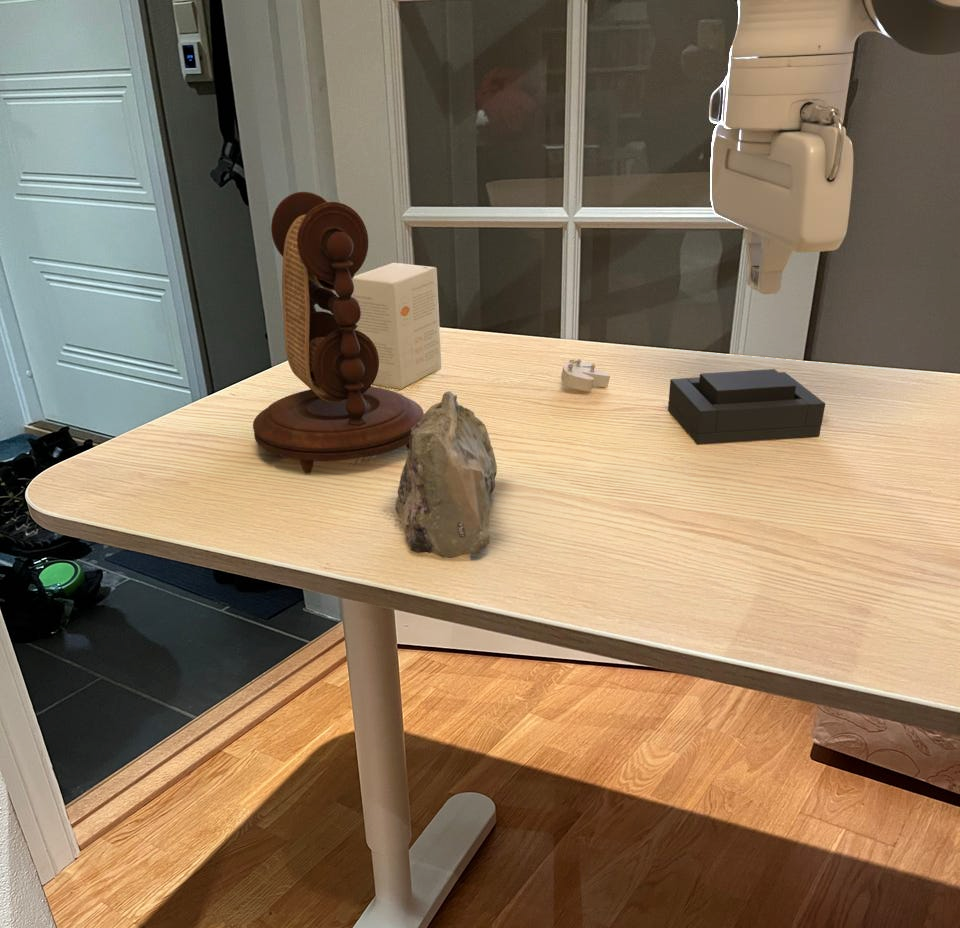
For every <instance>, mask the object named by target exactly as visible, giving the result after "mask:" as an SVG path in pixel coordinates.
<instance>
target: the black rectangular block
mask: <svg viewBox="0 0 960 928" xmlns="http://www.w3.org/2000/svg"><path fill="white" fill-rule="evenodd" d="M699 377H700V378H699V388H698V391H699V392H700V393H701V394H702V395H703V396H704V397H705V398H706V399H707V400H708V401H709V402H710V403H711V404H712V405H715V404H731V403H746V402H762V401H778V400H794V396H795V390H796V386H795V385H794V384H793V383H792V382H790V381H789V380H788V379H786V378H785V377H784V376H783V375H781V374H780V373H779V371H777V370H776V369H775V368H768V369H754V370H753V369H751V370H736V371H720V372H704V373H699Z"/></svg>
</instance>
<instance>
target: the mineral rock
mask: <svg viewBox="0 0 960 928" xmlns="http://www.w3.org/2000/svg"><path fill="white" fill-rule="evenodd" d="M457 399H458V396H457V394H454V393H453V392H452V391H450V390H449V391H445V392H444V393H443V394H442V397H441V401H440V402H437V403H435V404H433V405H430V407H429V408H428V409H427V410H426V411H425V412H424V415H423V417H422V419H421V420H420V421H419V422H418V423H417V424H416V425H415V426H414V427H413V428H412V431H411V433H410V445H409V450H408V451H407V458H406V459H405V462H404V465H403V468H402V472H401V474H400V479H399V483H398V484H399V485H398V489H397V497H396V499H395V506H394V509H395V512H396V514H397V516H398V518H399V519H400V521H401V523H402V528H403V529H404V531H403V533H404V540H405V543H406V544H407V546H408V547H409V550H410V552H412V553H416V554H424V553H425V554H426V553H428V554H431V553H432V554H434V555H435V556H438V557H440V558H446V559H455V558H459V557H460V558H461V557H463V556H466V555H467V556H468V555H472V554H479V553H480V552H481V551H483V550H485V549H486V548H487V547H488V545H489V543H490V542H491V541H490V540H491V539H490V537H491V535H490V507H491V501H490V496H491V495H492V494H493V492H494V490H495V488H496V476H497V472H498V465H497V461H496V456H495V453H494V452H495V451H494V448H493V446H492V445H491V439H490V435H489V433H488V429H487V427H486V424H485V423H484V422H483V421H482V420H481V419H480V418H478V417H476V415H475V413H474V411H473V410H470V409H469V408H467V407H464V406H463V405H461V404H459V403H458V401H457Z"/></svg>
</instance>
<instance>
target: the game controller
mask: <svg viewBox="0 0 960 928" xmlns="http://www.w3.org/2000/svg"><path fill="white" fill-rule="evenodd" d="M595 368H596V365H595V363H593V362H590V361H582V359H580V358H578V359H569V360H566V361H565V362H564V363H563V366H562V371H561V374H560V376H559V375H558V378H560V380H561V382H562V383H563V385H564V386H566V387H568V388H572V389H576V390H580V391H584V392H592V388H593V387H599V388H608V387H609V382H610V378H611V374H610V373H608V372H605V371H601V370H598V369H595ZM539 374H541V372H539V373H536V375H539ZM543 374H544V375H548V376H550V377H552V378H553V376H552V375H550V374H549V373H547V372H545V373H544V372H543ZM532 376H535V373H533V374H531V375H530V377H532ZM502 379H503V380H509V381H510V382H512V383H513V381H512V380H511V379H510V378H506V377H503V378H500V380H502ZM496 380H498V378H496V379H494V381H496ZM526 381H528V379H526V380H525V382H526ZM492 382H493V380H491V382H490V383H492ZM522 382H524V380H523V381H520V383H522Z"/></svg>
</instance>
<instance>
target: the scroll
mask: <svg viewBox="0 0 960 928" xmlns="http://www.w3.org/2000/svg"><path fill="white" fill-rule="evenodd" d="M270 231H271V237H272V241H273V244H274V247H275V248H276V250H277V252H278V253H279V254H280V255H281V256H282V269H281V275H282V276H281V298H282V299H281V301H282V302H281V303H282V319H283V333H284V334H283V335H284V345H285V354H286V359H287V362H288V366H289V367H290V369H291V371H292V373H293V375H294V376H295V377H296V378H297V379H299V380H300V381H301V382H302V383H303V384H304V385H305V386H307V387H308V388H309V389H307V390H302V391H298V392H295V393H293V394H289V395H286V396H284V397H282V398H280V399H278V400H276V401H274V402H273V403H271V404H270V405H268V407H266V408H265V409H263V410H262V411H260V412H259V413H258V414H257V415H256V416H255V418H254V420H253V423H252V429H253V435H254V441H255V443H256V444H257V445H258V447H260V448H261V449H262V450H264V451H265V452H269V453H270V454H273V455H276V456H278V457H283V458H287V459H293V460H298V461H299V465H300V467H301V469H302V471H303V473H304V474H306V475H310V474H311V473H312V472H313V469H314V464H315V463H314V462H335V461H347V460H349V461H350V460H357V459H363V458H368V457H374V456H379V455H381V454H386V453H390V452H392V451H395V450H397V449H401V448H402V447H404V446H405V447H406V448H407V450H408V451H409V445H410V433H411V431H412V428H413V427H414V426H415V425H416V424H417V423H418V422H419V421H420V420H421V419H422V417H423V415H424V414H425V412H424V410H423V408H422V406H421V405H420V404H419V403H418V402H416V401H415V400H413V399H411V398H409V397H407V396H405V395H403V394H402V393H399V392H397V391H394V390H390V389H386V388H382V387H376V386H372V385H374V384H373V382H374V380H375V378H376V376H377V373H378V369H379V356H378V352H377V349H376V347H375V345H374V343H373V342H372V341H371V339H370V338H369V337H368V336H366V335H365V334H364V333H362V332H360V331H357V330H355V329H356V328H357V327H358V325H357V324H356V323H357V322H358V321H359V320H360V317H361V310H360V305H359V303H358V301H357V300H356V299H355V298H353V297H352V294H353V292H354V283H353V280H352V279H353V277H354V276H356V273H358V272H359V270H360V269H361V268H362V266H363V264H364V263H365V261H366V258H367V255H368V251H369V235H368V230H367V227H366V224H365V221H364V220H363V219H362V217H361V216H360V214H359V213H358V212H357V211H356V210H354V209H353V208H352V207H350V206H349V205H347V204H344V203H342V202H338V201H327V200H326V199H325V198H323V197H322V196H320V195H319V194H317V193H314V192H310V191H297V192H294V193H292V194H289V195H287V196H286V197H285V198H284V199H283V200H281V201H280V202H279V204H278V205H277V207H276V208H275V210H274V212H273V215H272V219H271V226H270ZM334 291H335V292H334ZM316 305H317V306H318V307H319V308H320V309H322V310H321V311H320V310H319V311H317V309H316ZM323 310H324V311H323Z"/></svg>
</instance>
